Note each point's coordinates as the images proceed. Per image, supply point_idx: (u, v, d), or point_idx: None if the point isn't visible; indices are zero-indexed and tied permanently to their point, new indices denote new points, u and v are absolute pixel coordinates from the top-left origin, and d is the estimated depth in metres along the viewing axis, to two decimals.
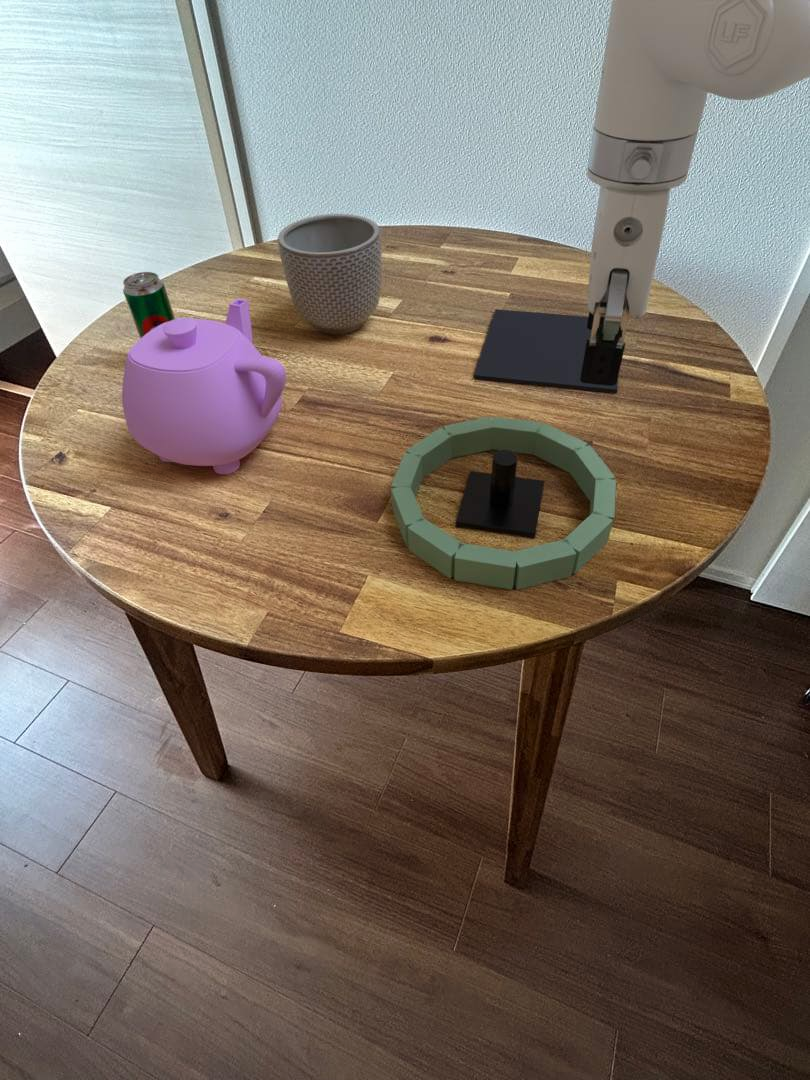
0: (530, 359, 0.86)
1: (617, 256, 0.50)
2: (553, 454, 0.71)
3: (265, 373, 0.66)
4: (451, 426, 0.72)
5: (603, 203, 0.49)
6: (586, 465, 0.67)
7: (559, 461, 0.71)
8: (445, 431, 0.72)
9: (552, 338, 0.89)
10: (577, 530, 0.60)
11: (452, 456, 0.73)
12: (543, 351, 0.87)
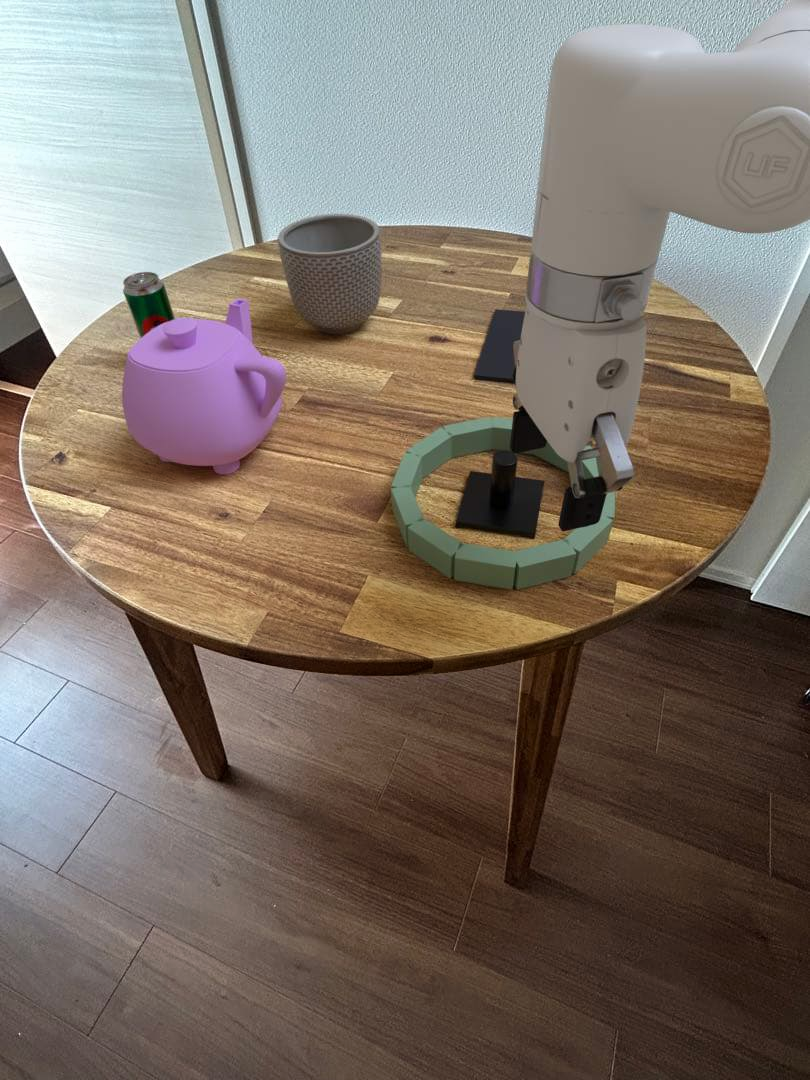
0: None
1: (602, 401, 0.41)
2: (553, 454, 0.71)
3: (265, 373, 0.66)
4: (451, 426, 0.72)
5: (575, 347, 0.39)
6: (586, 465, 0.67)
7: (559, 461, 0.71)
8: (445, 431, 0.72)
9: None
10: (577, 530, 0.60)
11: (452, 456, 0.73)
12: None
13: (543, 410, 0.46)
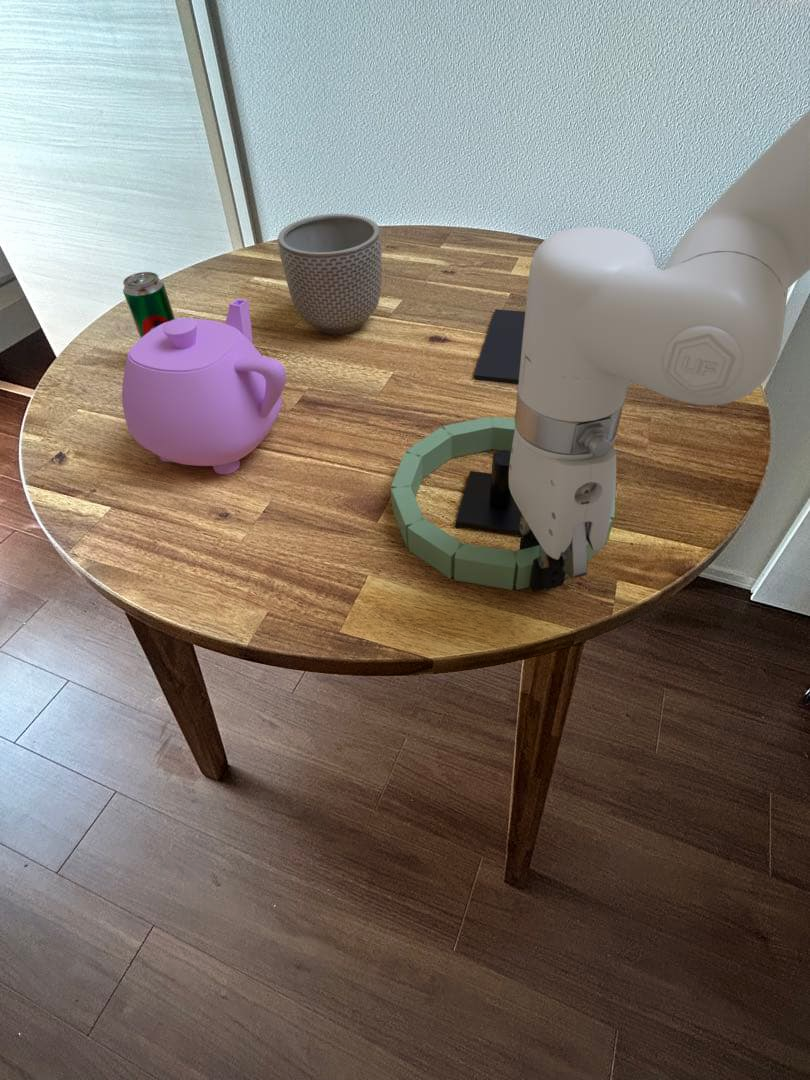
0: None
1: (580, 514, 0.48)
2: None
3: (265, 373, 0.66)
4: (451, 426, 0.72)
5: (556, 472, 0.47)
6: None
7: None
8: (445, 431, 0.72)
9: None
10: None
11: (452, 456, 0.73)
12: None
13: (531, 513, 0.53)
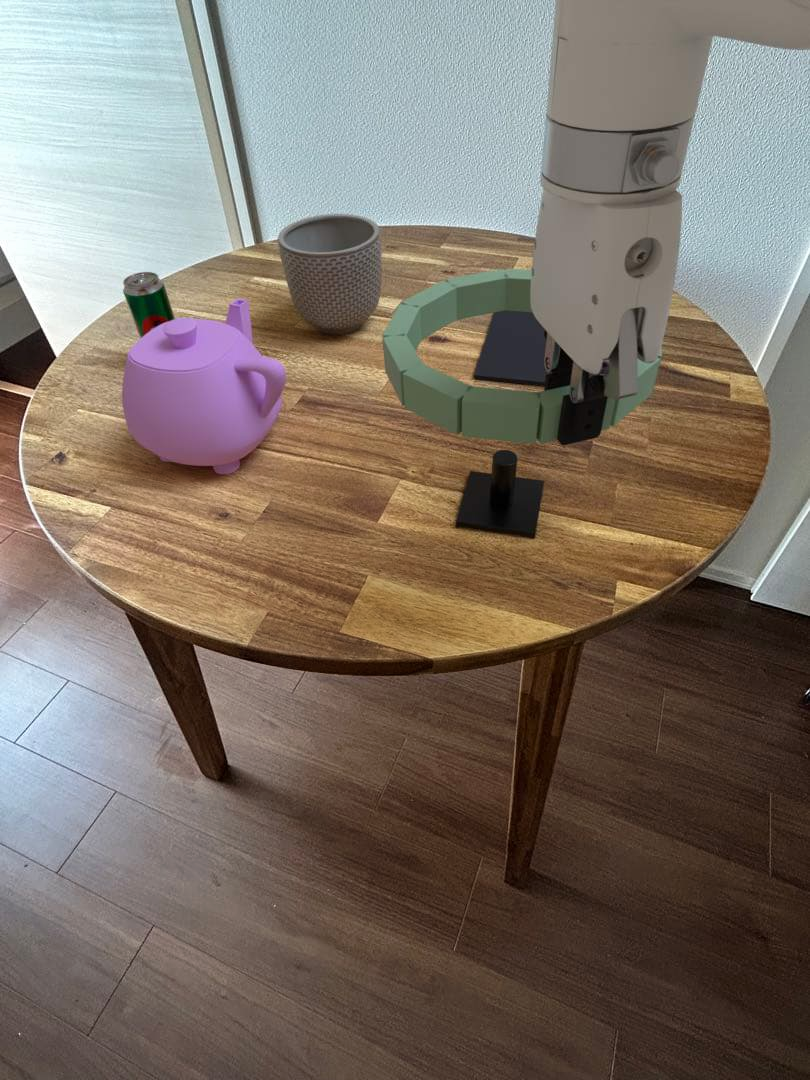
0: (530, 359, 0.86)
1: (631, 293, 0.36)
2: None
3: (265, 373, 0.66)
4: (456, 279, 0.60)
5: (599, 226, 0.34)
6: None
7: None
8: (448, 283, 0.59)
9: None
10: None
11: (457, 317, 0.61)
12: (543, 351, 0.87)
13: (562, 317, 0.40)
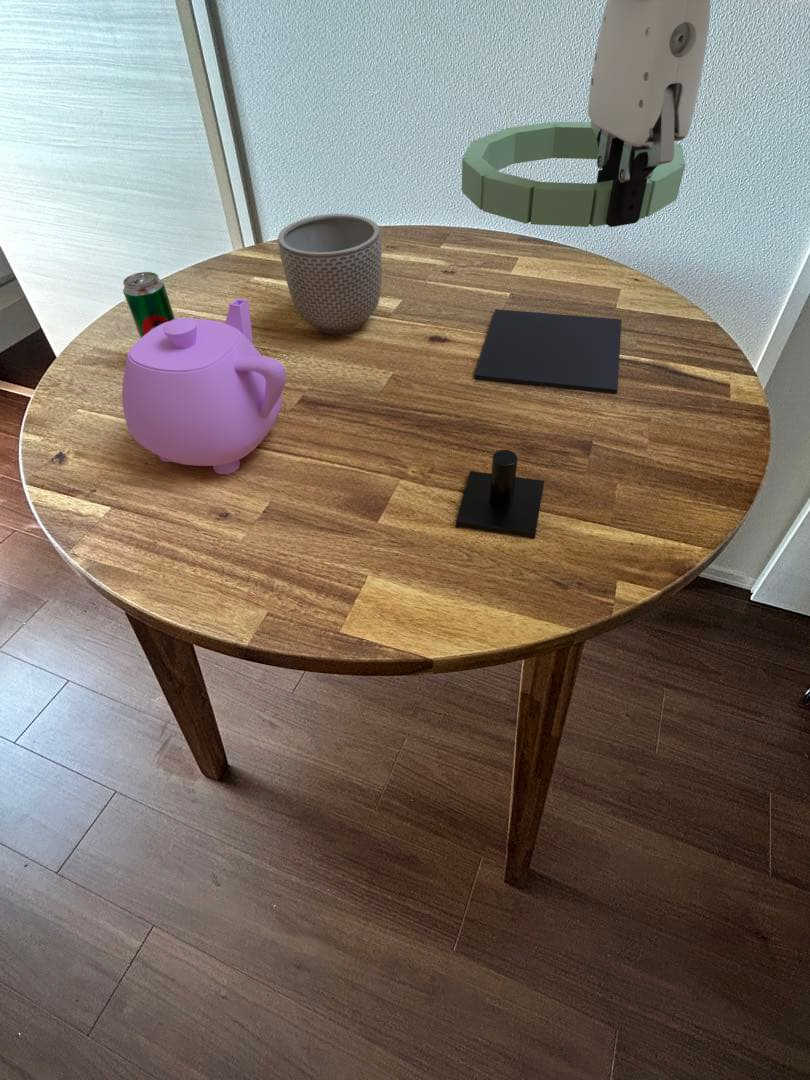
0: (530, 359, 0.86)
1: (672, 70, 0.50)
2: None
3: (265, 373, 0.66)
4: (514, 128, 0.74)
5: (652, 14, 0.48)
6: None
7: None
8: (509, 130, 0.73)
9: (552, 338, 0.89)
10: None
11: (514, 161, 0.75)
12: (543, 351, 0.87)
13: (618, 105, 0.54)
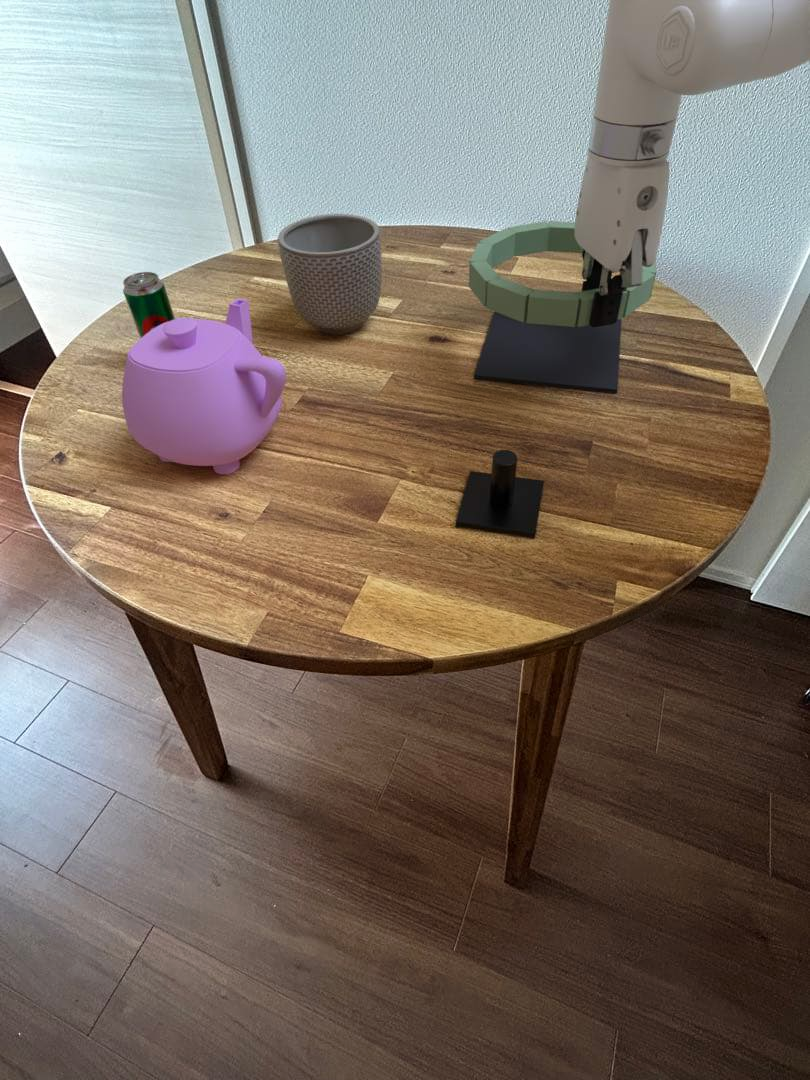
0: (530, 359, 0.86)
1: (639, 219, 0.62)
2: None
3: (265, 373, 0.66)
4: (514, 227, 0.86)
5: (622, 179, 0.60)
6: None
7: None
8: (509, 230, 0.85)
9: (552, 338, 0.89)
10: None
11: (514, 255, 0.87)
12: (543, 351, 0.87)
13: (597, 238, 0.67)
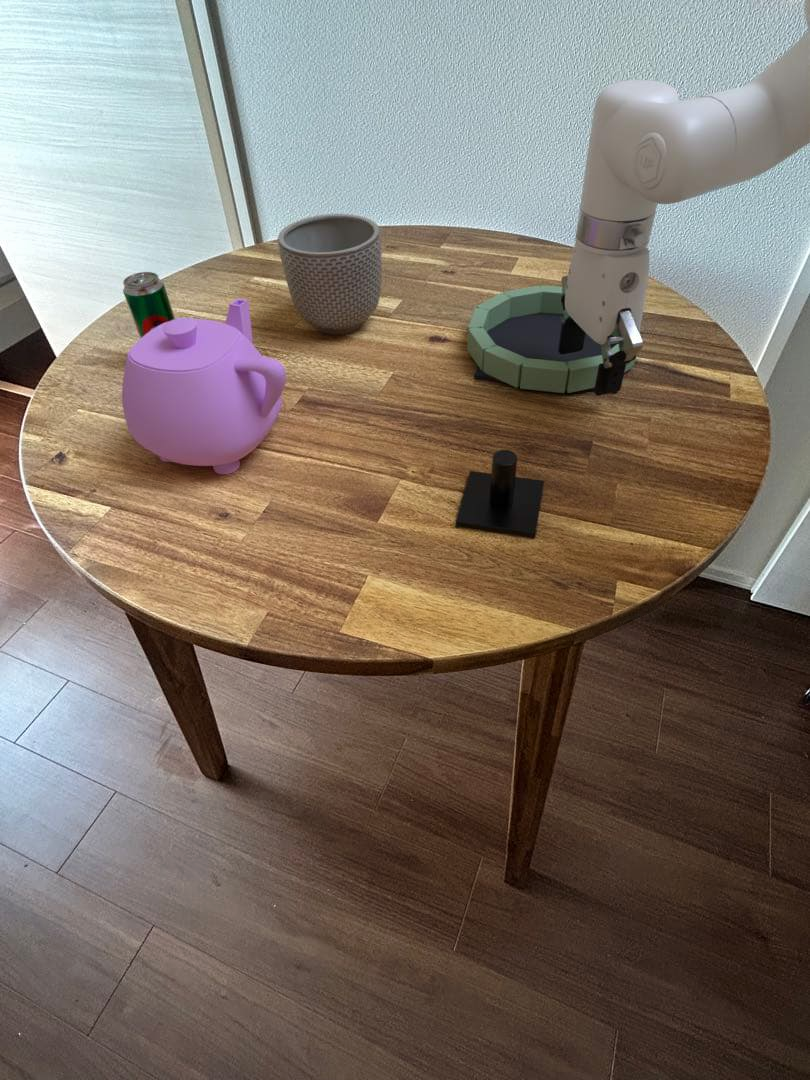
0: None
1: (623, 300, 0.68)
2: None
3: (265, 373, 0.66)
4: (509, 291, 0.92)
5: (607, 266, 0.66)
6: None
7: None
8: (505, 294, 0.92)
9: (552, 338, 0.89)
10: (612, 349, 0.81)
11: (509, 316, 0.93)
12: (543, 351, 0.87)
13: (585, 313, 0.72)
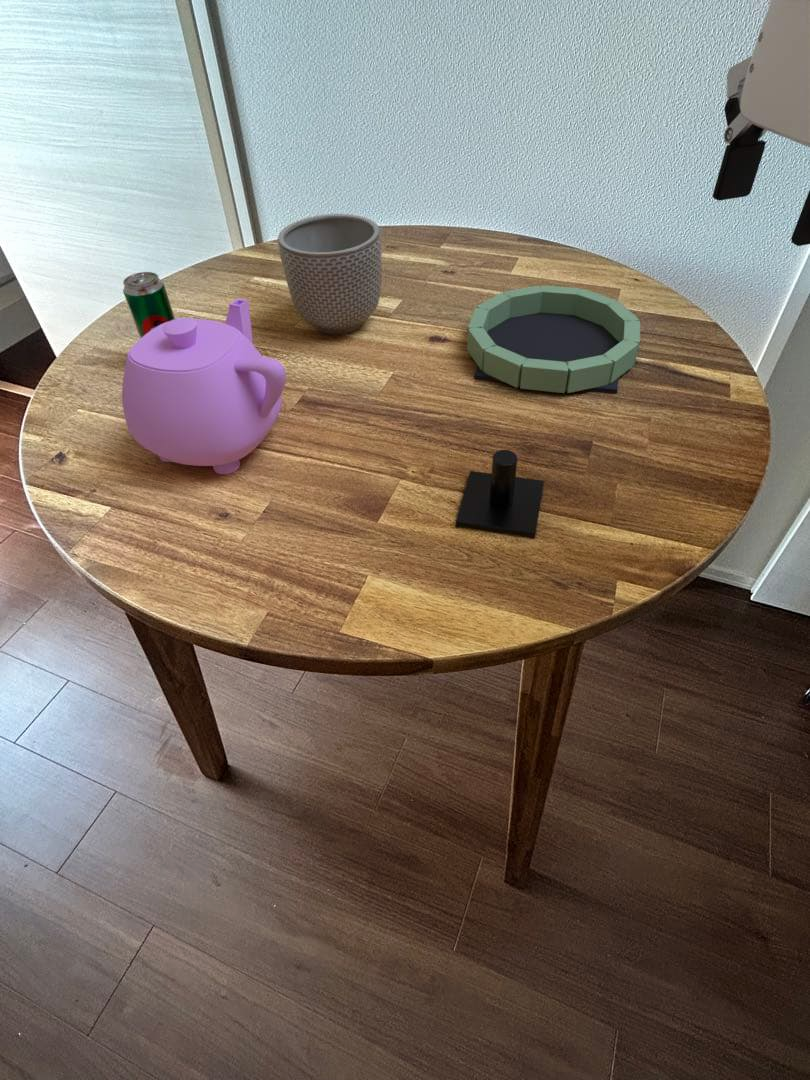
0: None
1: None
2: (589, 311, 0.91)
3: (265, 373, 0.66)
4: (509, 291, 0.92)
5: None
6: (617, 312, 0.87)
7: (594, 316, 0.91)
8: (505, 294, 0.92)
9: (552, 338, 0.89)
10: (612, 349, 0.81)
11: (509, 316, 0.93)
12: (543, 351, 0.87)
13: (793, 96, 0.44)
